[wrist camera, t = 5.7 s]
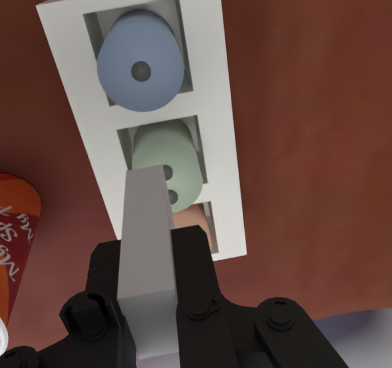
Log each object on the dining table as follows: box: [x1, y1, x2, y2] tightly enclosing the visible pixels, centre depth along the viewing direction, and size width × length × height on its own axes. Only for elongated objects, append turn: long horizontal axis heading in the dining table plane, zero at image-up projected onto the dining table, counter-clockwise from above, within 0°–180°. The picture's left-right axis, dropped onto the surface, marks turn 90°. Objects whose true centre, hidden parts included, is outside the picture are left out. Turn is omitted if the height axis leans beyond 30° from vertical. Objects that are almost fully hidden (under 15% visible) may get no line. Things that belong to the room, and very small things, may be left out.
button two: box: [132, 118, 203, 213], centre depth 25 cm, size 4×4×6 cm
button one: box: [97, 9, 184, 112], centre depth 21 cm, size 4×4×6 cm
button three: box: [173, 202, 212, 250], centre depth 30 cm, size 4×4×6 cm
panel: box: [36, 0, 247, 261], centre depth 28 cm, size 21×10×6 cm, turn 8°
